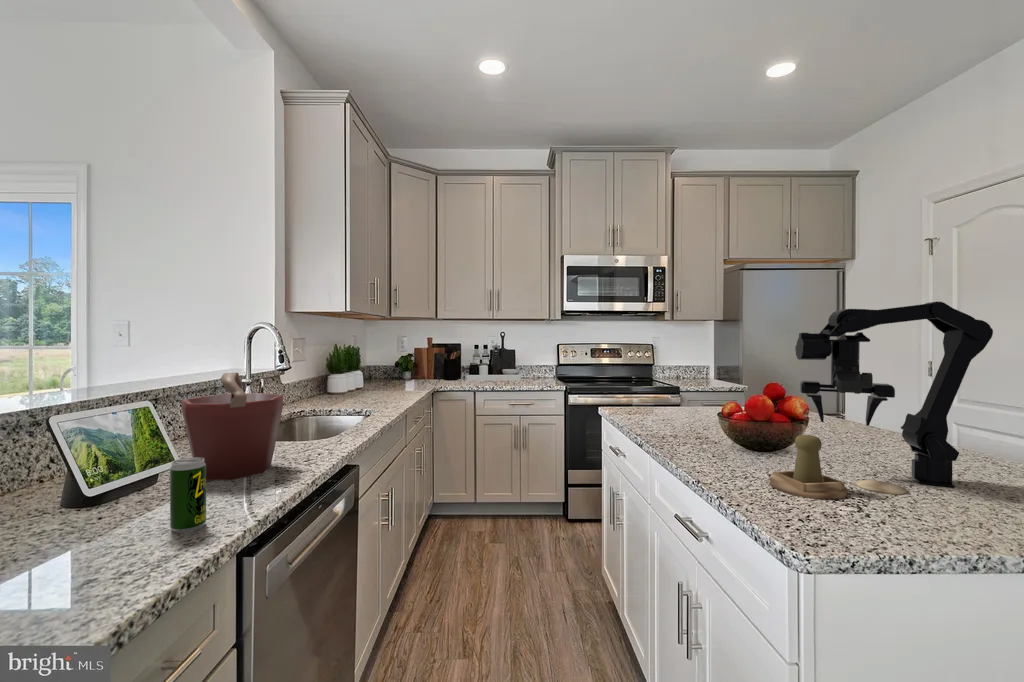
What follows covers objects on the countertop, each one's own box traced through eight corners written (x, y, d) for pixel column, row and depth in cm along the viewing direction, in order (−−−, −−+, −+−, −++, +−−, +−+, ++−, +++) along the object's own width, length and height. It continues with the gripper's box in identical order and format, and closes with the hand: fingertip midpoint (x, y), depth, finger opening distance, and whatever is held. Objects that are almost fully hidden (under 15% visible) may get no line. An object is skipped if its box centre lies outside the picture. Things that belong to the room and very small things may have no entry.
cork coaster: (900, 485, 112) (900, 483, 112) (911, 496, 104) (911, 494, 104) (853, 480, 116) (853, 477, 116) (860, 490, 108) (860, 488, 108)
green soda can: (164, 535, 83) (164, 465, 83) (178, 523, 88) (178, 457, 88) (199, 532, 84) (199, 463, 84) (211, 520, 90) (210, 456, 90)
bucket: (265, 482, 113) (265, 376, 113) (158, 489, 108) (157, 377, 108) (288, 457, 137) (288, 369, 136) (201, 461, 132) (201, 370, 131)
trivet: (811, 477, 118) (811, 466, 118) (865, 497, 103) (865, 485, 103) (755, 479, 116) (755, 469, 116) (801, 501, 101) (801, 488, 101)
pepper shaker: (821, 489, 105) (821, 439, 105) (789, 484, 109) (790, 435, 109) (825, 483, 110) (825, 435, 110) (794, 478, 114) (795, 431, 114)
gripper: (803, 360, 116) (803, 426, 116) (901, 363, 107) (900, 433, 107) (799, 358, 125) (799, 418, 126) (889, 360, 117) (888, 425, 117)
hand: (844, 423), depth 119 cm, fingers open, 9 cm apart
